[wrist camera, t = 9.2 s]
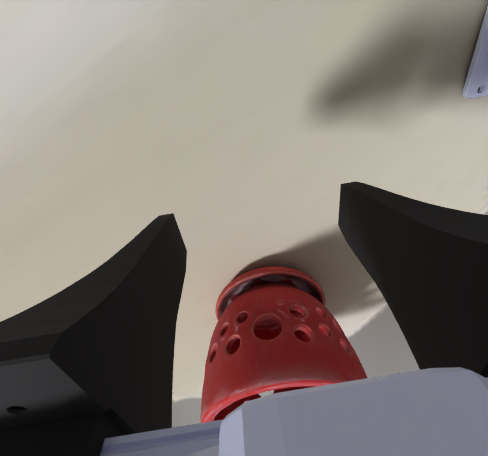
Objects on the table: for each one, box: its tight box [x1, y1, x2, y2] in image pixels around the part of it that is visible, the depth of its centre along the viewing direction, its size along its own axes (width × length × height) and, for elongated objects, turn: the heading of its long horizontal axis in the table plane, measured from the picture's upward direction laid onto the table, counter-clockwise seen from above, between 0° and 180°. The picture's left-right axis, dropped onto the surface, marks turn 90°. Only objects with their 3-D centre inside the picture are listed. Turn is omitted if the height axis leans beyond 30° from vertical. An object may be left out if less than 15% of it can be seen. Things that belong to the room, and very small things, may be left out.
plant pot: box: [201, 266, 367, 423], centre depth 24 cm, size 13×13×12 cm
